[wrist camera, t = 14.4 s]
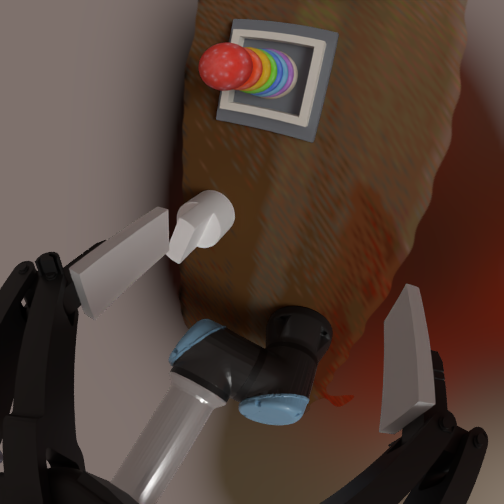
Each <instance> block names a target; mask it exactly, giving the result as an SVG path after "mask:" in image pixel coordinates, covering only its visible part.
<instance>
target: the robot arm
mask: <svg viewBox="0 0 504 504" xmlns="http://www.w3.org/2000/svg"><path fill="white" fill-rule="evenodd" d="M168 251H169V224H168V209H164V208H161V207H156V208H154V209H153V210H151V211H150V212H148V213H147V214H145V215H144V216H142V217H141V218H139V219H137V220H136V221H134V222H133V223H131V224H130V225H128V226H127V227H125V228H124V229H123V230H121V231H119V232H118V233H116V234H115V235H114V236H112V237H111V238H109V239H108V240H104V241H101V242H99V243H96V244H95V245H93V246H92V247H91V248H89V250H86V251H85V252H84V253H83V254H81V255H80V256H78V257H77V258H76V259H74V260H73V261H72V262H70V263H69V264H68V265H66V266H65V267H64V268H63V267H62V263H61V260H60V257H59V255H58V254H57V253H55V252H48V253H45V254H42V255H41V256H40V257H38V258H37V260H36V261H35V263H36V266H37V269H38V271H37V270H36V269H35V266H34V264H33V262H31V261H24V262H22V263H20V264H18V265H17V266H16V267H15V268H14V270H13V271H12V273H11V274H10V276H9V277H8V278H7V280H6V281H5V283H4V284H3V286H2V287H1V289H0V443H1V441H2V438H3V454H2V452H1V451H0V463H1V462H2V461H3V464H4V472H0V504H156V503H157V501H158V500H159V498H160V497H161V495H162V493H163V492H164V490H165V489H166V487H167V486H168V484H169V482H170V481H171V479H172V478H173V476H174V475H175V473H176V471H177V470H178V468H179V466H180V465H181V463H182V462H183V460H184V458H185V457H186V455H187V453H188V452H189V450H190V448H191V447H192V445H193V443H194V442H195V440H196V438H197V436H198V435H199V433H200V431H201V430H202V428H203V426H204V424H205V423H206V421H207V419H208V418H209V416H210V414H211V412H212V411H213V409H215V408H217V407H220V406H224V405H225V404H226V403H227V401H228V399H229V398H232V399H234V400H236V401H238V402H240V403H239V411H240V413H241V414H243V415H244V416H245V417H247V418H249V419H251V420H254V421H257V422H260V423H264V424H270V425H287V424H292V423H294V422H296V421H298V420H299V419H300V418H301V417H302V415H303V413H304V410H305V408H306V405H307V404H308V402H309V396H310V392H311V388H312V385H313V381H314V377H315V373H316V369H317V365H318V362H319V361H320V360H321V358H322V357H323V355H324V354H325V353H326V351H327V350H328V348H329V346H330V344H331V340H332V335H333V332H332V327H331V325H330V323H329V322H328V321H327V319H326V318H325V317H323V316H322V315H321V314H319V313H318V312H316V311H314V310H311V309H308V308H304V307H298V306H290V307H284V308H281V309H279V310H277V311H276V312H274V313H273V314H272V315H271V317H270V319H269V321H268V324H267V327H266V348H265V349H264V348H262V347H261V346H259V345H257V344H255V343H253V342H251V341H249V340H247V339H246V338H244V337H242V336H240V335H238V334H237V333H235V332H233V331H231V330H230V329H228V328H227V327H226V326H222V325H220V324H218V323H216V322H214V321H212V320H210V319H202V320H200V321H199V322H197V323H196V324H194V325H193V326H192V327H191V328H190V329H189V330H188V331H187V332H186V334H185V335H184V336H183V337H182V338H181V340H180V341H179V342H178V344H177V345H176V348H175V349H174V350H173V351H172V353H171V355H170V357H169V363H170V364H171V366H173V368H172V369H171V371H170V373H169V376H170V380H171V387H170V388H169V390H168V392H167V393H166V395H165V397H164V398H163V400H162V401H161V403H160V405H159V406H158V408H157V409H156V411H155V413H154V414H153V416H152V417H151V419H150V420H149V422H148V424H147V425H146V427H145V428H144V430H143V432H142V433H141V435H140V436H139V438H138V440H137V441H136V443H135V444H134V446H133V448H132V449H131V451H130V452H129V454H128V455H127V457H126V459H125V460H124V462H123V463H122V465H121V467H120V468H119V470H118V471H117V473H116V475H115V476H114V478H113V479H112V481H111V482H109V481H107V480H104V479H102V478H100V477H97V476H95V475H93V474H90V473H88V472H86V471H85V465H84V459H83V455H82V452H81V450H80V448H79V446H78V443H77V440H76V430H75V413H74V363H75V346H76V334H77V323H78V315H79V314H78V309H77V308H78V307H79V306H82V308H83V311H84V313H85V314H86V315H87V316H89V317H90V318H92V319H93V320H96V319H97V318H98V317H99V316H100V315H101V314H102V313H103V312H104V311H105V310H106V309H107V308H108V307H109V306H110V305H111V304H112V303H113V302H114V301H115V300H116V299H117V298H118V297H119V296H120V295H121V294H123V292H125V291H126V290H127V289H128V288H129V287H130V286H131V285H132V284H133V283H134V282H135V281H136V280H137V279H138V278H140V277H141V275H143V274H144V273H145V272H146V271H147V270H148V269H149V268H150V267H152V266H153V265H154V264H155V263H156V262H157V261H158V260H159V259H160V258H162V257H163V256H164V255H165V254H166V253H167V252H168ZM23 298H24V300H25V302H26V305H25V306H24V307H23V305H22V303H21V301H22V299H23ZM443 372H444V369H443V362H442V360H441V358H440V356H439V354H438V352H436V351H432V350H430V343H429V336H428V330H427V325H426V319H425V314H424V309H423V304H422V300H421V295H420V291H419V288H418V287H415V286H412V285H409V284H406V285H405V287H404V289H403V291H402V293H401V294H400V296H399V298H398V299H397V301H396V303H395V304H394V306H393V308H392V310H391V311H390V313H389V314H388V316H387V318H386V319H385V321H384V379H383V396H382V408H381V418H380V427H379V428H380V429H379V432H382V433H389V434H395V433H397V432H399V431H400V430H401V429H403V430H402V437H401V438H399V439H397V440H396V441H394V442H392V443H391V444H389V447H390V446H391V447H390V448H389V449H387V450H386V451H385V452H384V453H383V454H382V456H380V457H379V458H378V459H377V460H376V461H375V462H373V463H372V464H371V465H370V466H369V467H368V468H367V469H366V470H364V471H363V472H362V473H361V474H359V475H358V476H357V477H356V478H354V479H353V480H352V481H351V482H349V483H348V484H347V485H345V486H344V487H343V488H341V489H340V490H339V491H337V492H336V493H335V494H333V495H332V496H330V497H329V498H327V499H326V500H324V501H323V502H321V503H320V504H398V503H399V502H400V501H401V500H402V499H403V498H404V497H405V496H406V495H407V494H408V493H409V492H410V493H409V495H408V496H407V498H406V499H405V501H404V503H403V504H466V503H467V501H468V499H469V496H470V494H471V492H472V489H473V487H474V484H475V482H476V479H477V476H478V474H479V471H480V468H481V465H482V462H483V459H484V456H485V453H486V449H487V446H488V437H487V434H486V432H485V431H484V429H482V428H481V427H475V428H473V429H472V430H470V431H469V432H468V431H466V430H464V429H462V428H460V427H458V426H457V423H456V419H455V417H454V415H453V414H452V413H451V412H449V411H448V410H447V398H446V386H445V381H444V380H445V378H444V373H443ZM13 399H14V402H13ZM12 402H13V412H12V413H11V414H9V413H10V409H11V406H12ZM46 460H47V461H48V462H49V464H50V466H51V468H47V464H46Z"/></svg>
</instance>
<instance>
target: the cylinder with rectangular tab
mask: <svg viewBox="0 0 504 504" xmlns="http://www.w3.org/2000/svg"><path fill="white" fill-rule="evenodd" d="M234 219H235V213H234V208H233V206H232V204H231V202H230V201H229V200H228V198H227V197H225V196H224V195H223V194H221V193H219V192H217V191H213V190H206V191H203V192H201V193H199V194H198V195H197V196H195V197H194V198H192V199H191V200H189V201H188V202H186V203H185V204H184V205H183V206H181V207H180V209H179V211H178V214H177V225H176V228H175V230H174V233H173V236H172V238H171V241H170V243H169V251H168V252H167V253H166V255H167V256H168V257H169V258H170V259H172V260H173V261H175V262H177V263H178V264H180V263H181V262H182V261H183V260H184V259H185V258H186V257H187V256H188V255H189V254H190V253H191V252H192V251H193V250H194V249H195V248H196V247H200V248H208V247H211V246H213V245H215V244H216V243H217V242H218V241H219V240H220V239H221V237H222V236H223V235H224V234H225V233H226V232H227V231H228V230H229V229H230V228H231V226H232V225H233V223H234Z"/></svg>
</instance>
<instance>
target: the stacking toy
mask: <svg viewBox="0 0 504 504" xmlns="http://www.w3.org/2000/svg"><path fill="white" fill-rule="evenodd" d="M199 73H200V76H201V78H202V80H203V81H204V82H205V83H206V84H207V85H208V86H210V87H211V88H214V89H216V90H221V91H228V90H240V91H242V92H244V93H248V94H251V95H254V96H258V97H261V98H265V99H277V98H281V97H283V96H285V95H287V94H288V93H289V92H290V91H291V90H292V89H293V88H294V86H295V84H296V82H297V78H298V70H297V67H296V64H295V62H294V61H293V60H292V58H291V57H290V56H288V55H287V54H286V53H284V52H282V51H279V50H275V49H270V48H265V49H261V48H253V47H241V46H240V45H237V44H234V43H219V44H216V45H214V46H212V47H210V48H209V49H207V50H206V51H205V52H204V54H203V55H202V57H201V59H200V61H199Z"/></svg>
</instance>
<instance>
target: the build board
mask: <svg viewBox="0 0 504 504" xmlns="http://www.w3.org/2000/svg"><path fill="white" fill-rule="evenodd" d="M338 37H339V34H338V33H336V32H332V31H328V30H323V29H318V28H313V27H308V26H302V25H296V24H289V23H281V22H272V21H262V20H247V19H234V20H233V24H232V29H231V34H230V39H229V43H234V44H237V45H240V46H241V47H253V48H261V49H265V48H270V49H275V50H279V51H282V52H284V53H286V54H287V55H288V56H290V57H291V58H292V60H293V61H294V62H295V64H296V67H297V70H298V78H297V82H296V84H295V86H294V88H293V89H292V90H291V91H290V92H289V93H288V94H287V95H285V96H283V97H281V98H277V99H265V98H261V97H258V96H254V95H251V94H248V93H244V92H242V91H240V90H228V91H221V90H220V96H219V103H218V109H217V116H216V120H221V121H226V122H231V123H236V124H241V125H246V126H251V127H255V128H259V129H264V130H268V131H272V132H276V133H280V134H284V135H287V136H291V137H295V138H298V139H302V140H305V141H309V142H312V143H313V142H314V139H315V135H316V131H317V127H318V123H319V119H320V115H321V111H322V107H323V103H324V99H325V95H326V90H327V86H328V82H329V77H330V73H331V69H332V64H333V60H334V55H335V51H336V46H337V41H338Z"/></svg>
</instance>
